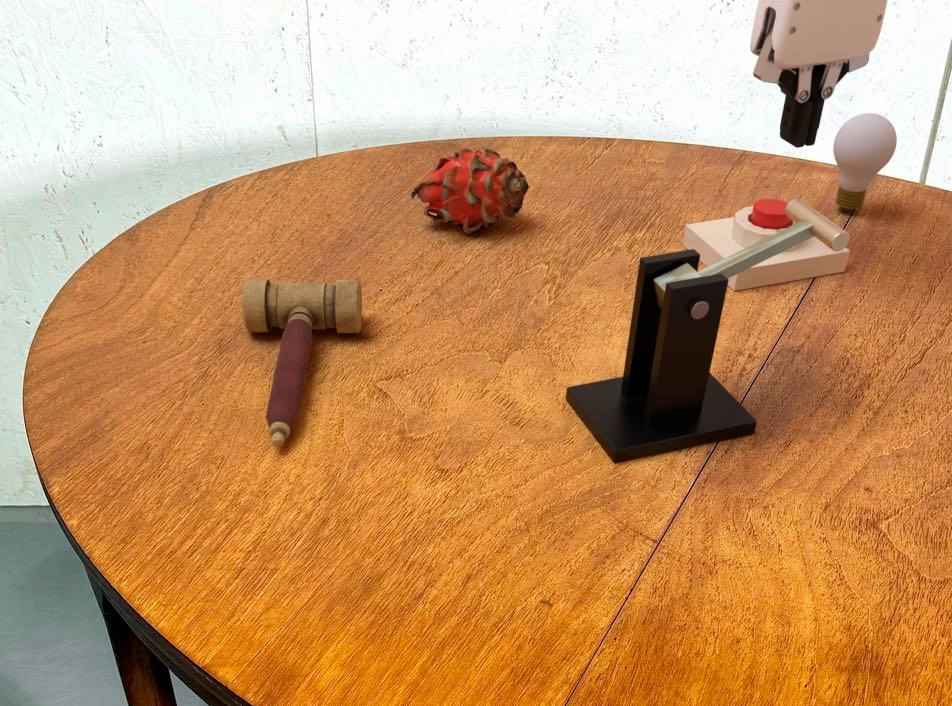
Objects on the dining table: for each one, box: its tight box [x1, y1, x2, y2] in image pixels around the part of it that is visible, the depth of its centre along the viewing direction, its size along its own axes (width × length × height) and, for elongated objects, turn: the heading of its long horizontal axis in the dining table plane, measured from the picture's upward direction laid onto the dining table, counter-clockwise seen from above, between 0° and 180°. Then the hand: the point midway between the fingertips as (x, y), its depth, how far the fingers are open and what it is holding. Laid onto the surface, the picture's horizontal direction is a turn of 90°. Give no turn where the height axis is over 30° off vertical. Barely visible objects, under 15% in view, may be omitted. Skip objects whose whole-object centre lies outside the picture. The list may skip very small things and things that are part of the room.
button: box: [750, 198, 791, 230], centre depth 101 cm, size 4×4×2 cm
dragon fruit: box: [410, 146, 531, 235], centre depth 108 cm, size 8×8×12 cm
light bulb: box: [832, 112, 898, 213], centre depth 109 cm, size 6×6×10 cm
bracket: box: [565, 249, 758, 464], centre depth 80 cm, size 12×9×13 cm
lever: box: [653, 198, 851, 309], centre depth 77 cm, size 13×6×2 cm, turn 107°
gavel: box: [241, 278, 363, 448], centre depth 87 cm, size 21×5×10 cm
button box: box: [682, 205, 851, 292], centre depth 103 cm, size 12×10×4 cm
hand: (796, 141), depth 96 cm, fingers closed
